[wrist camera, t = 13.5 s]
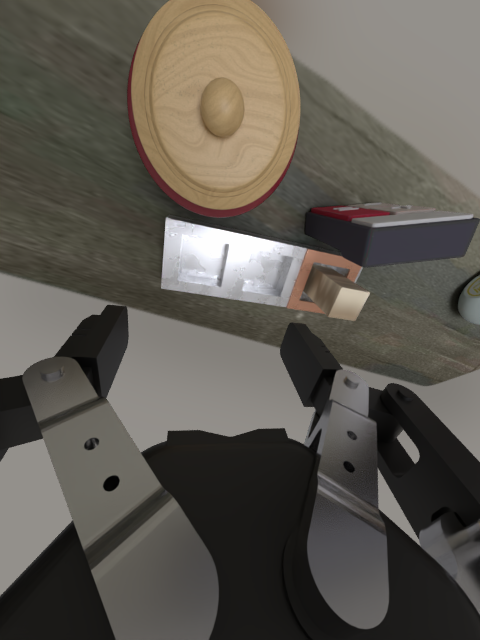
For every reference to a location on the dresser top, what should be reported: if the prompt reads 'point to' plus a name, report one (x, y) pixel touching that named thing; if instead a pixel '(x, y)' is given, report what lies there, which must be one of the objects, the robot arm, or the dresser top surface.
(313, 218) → the dark grey box
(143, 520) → the robot arm
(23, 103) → the dresser top surface
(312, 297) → the peg
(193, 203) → the canister
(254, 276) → the rail
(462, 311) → the air freshener
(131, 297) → the dresser top surface
